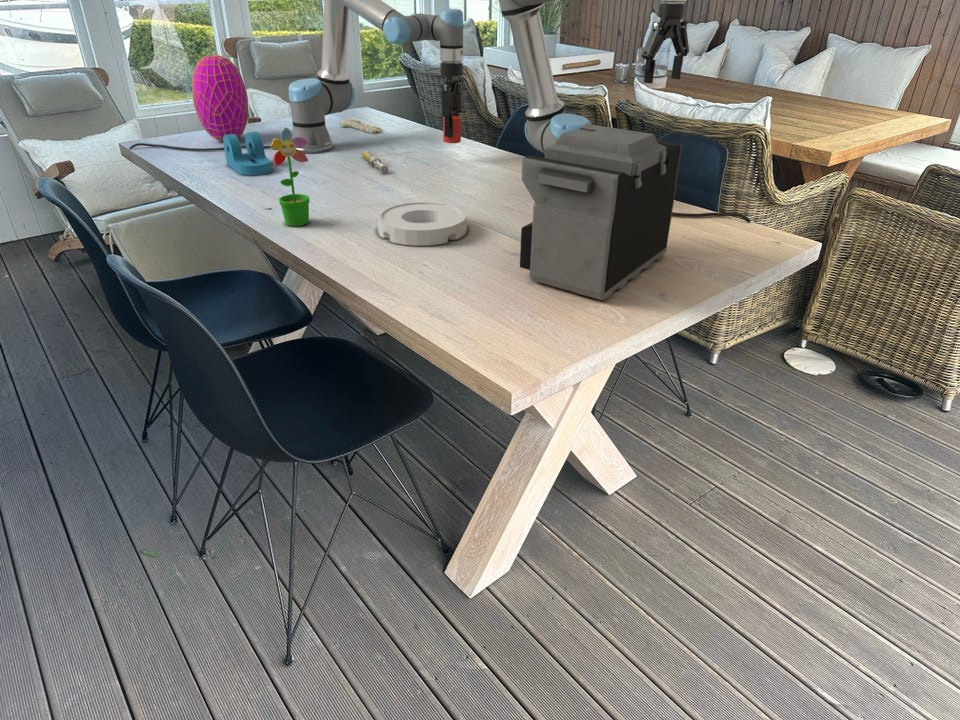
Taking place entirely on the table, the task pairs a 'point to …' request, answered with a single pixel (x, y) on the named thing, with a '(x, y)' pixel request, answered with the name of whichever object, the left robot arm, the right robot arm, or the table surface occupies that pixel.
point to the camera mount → (246, 154)
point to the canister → (456, 131)
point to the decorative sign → (360, 126)
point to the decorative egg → (219, 97)
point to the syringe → (375, 161)
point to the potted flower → (291, 178)
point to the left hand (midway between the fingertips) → (452, 134)
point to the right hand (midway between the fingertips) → (661, 81)
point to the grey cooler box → (598, 208)
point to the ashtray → (422, 223)
